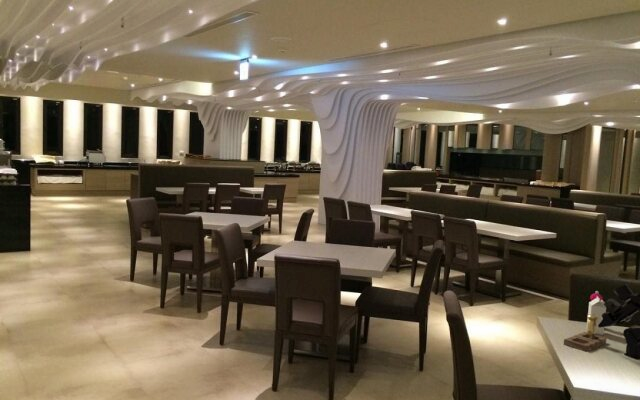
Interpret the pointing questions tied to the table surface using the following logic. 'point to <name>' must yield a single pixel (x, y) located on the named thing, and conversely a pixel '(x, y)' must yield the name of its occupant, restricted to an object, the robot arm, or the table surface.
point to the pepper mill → (595, 296)
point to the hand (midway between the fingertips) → (603, 325)
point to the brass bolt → (591, 326)
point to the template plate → (584, 342)
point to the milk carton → (597, 312)
